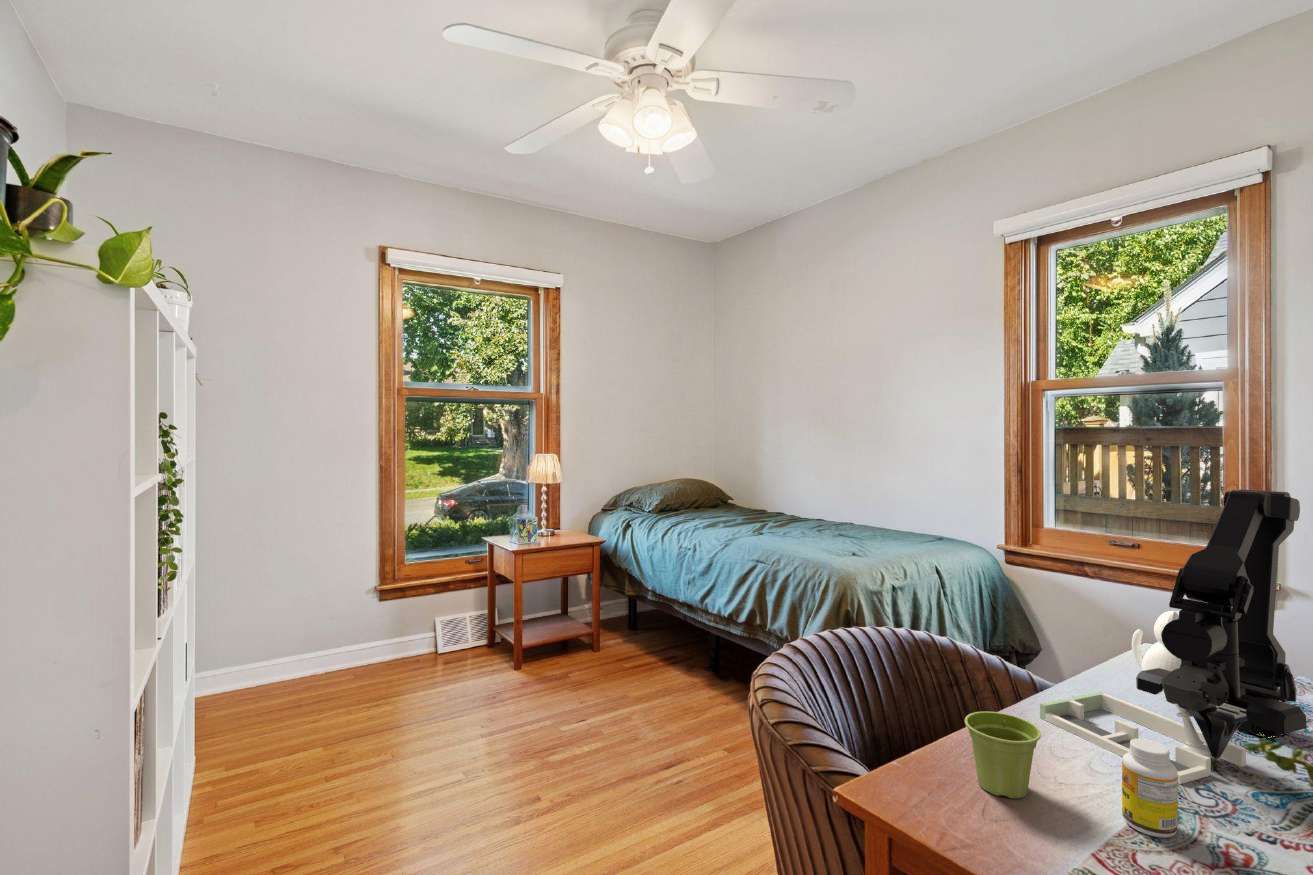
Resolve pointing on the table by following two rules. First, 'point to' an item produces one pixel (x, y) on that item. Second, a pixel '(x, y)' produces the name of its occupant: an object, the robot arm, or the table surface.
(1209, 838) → the table surface
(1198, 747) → the chess piece
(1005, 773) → the plant pot
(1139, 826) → the supplement bottle
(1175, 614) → the cat figurine
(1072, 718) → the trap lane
